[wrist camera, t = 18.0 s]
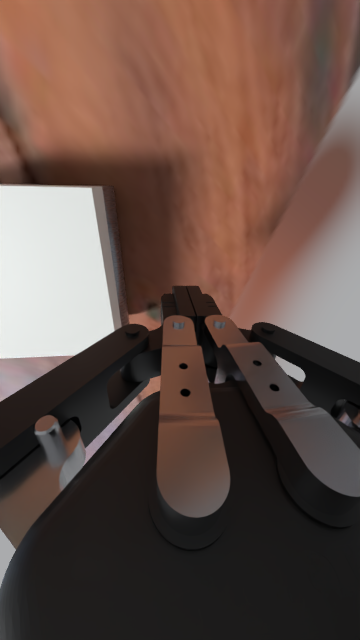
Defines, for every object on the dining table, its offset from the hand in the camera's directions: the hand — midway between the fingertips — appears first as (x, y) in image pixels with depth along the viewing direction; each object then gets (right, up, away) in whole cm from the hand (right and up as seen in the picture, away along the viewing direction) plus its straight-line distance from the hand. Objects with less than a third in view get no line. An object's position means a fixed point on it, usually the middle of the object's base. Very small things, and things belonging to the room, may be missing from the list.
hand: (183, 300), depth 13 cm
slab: (-11, +3, +4) cm, 12 cm away
